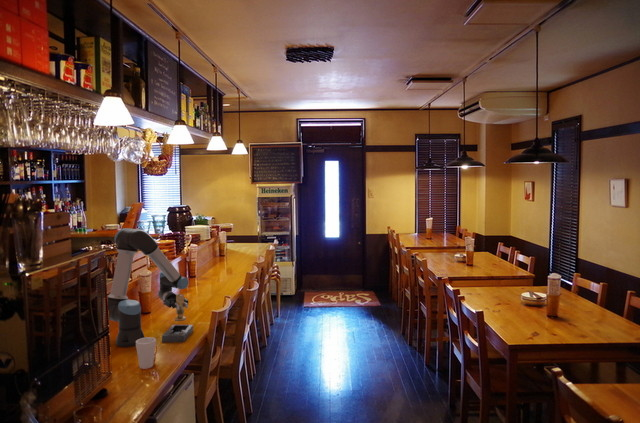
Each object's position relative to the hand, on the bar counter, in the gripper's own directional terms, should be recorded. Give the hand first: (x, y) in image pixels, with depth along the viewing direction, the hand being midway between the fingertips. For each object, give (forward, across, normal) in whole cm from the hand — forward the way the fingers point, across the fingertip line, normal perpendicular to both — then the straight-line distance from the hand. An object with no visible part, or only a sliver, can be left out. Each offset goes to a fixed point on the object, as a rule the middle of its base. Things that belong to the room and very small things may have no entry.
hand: (183, 306), depth 261 cm
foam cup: (+32, +29, -18) cm, 47 cm away
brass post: (-5, 0, -9) cm, 10 cm away
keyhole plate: (-2, +3, -18) cm, 18 cm away
